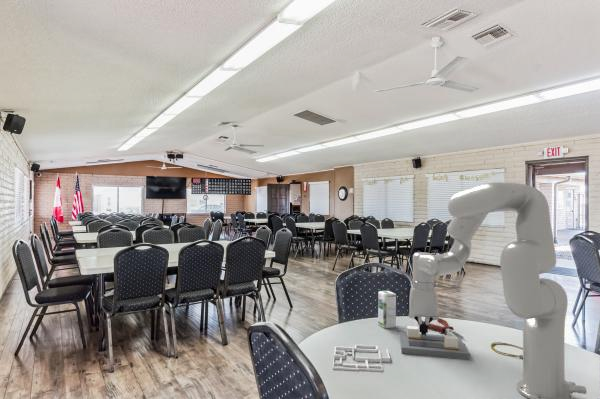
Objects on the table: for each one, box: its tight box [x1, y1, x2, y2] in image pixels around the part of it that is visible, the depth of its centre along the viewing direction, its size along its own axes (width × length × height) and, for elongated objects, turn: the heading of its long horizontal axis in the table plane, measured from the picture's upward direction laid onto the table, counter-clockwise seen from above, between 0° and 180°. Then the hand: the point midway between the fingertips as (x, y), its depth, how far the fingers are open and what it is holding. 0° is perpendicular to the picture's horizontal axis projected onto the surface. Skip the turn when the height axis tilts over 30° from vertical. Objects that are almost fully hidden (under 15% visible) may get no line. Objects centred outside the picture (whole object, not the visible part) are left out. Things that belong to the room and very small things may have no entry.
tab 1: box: [406, 325, 420, 337], centre depth 136 cm, size 4×3×3 cm
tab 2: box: [444, 334, 458, 348], centre depth 127 cm, size 4×3×3 cm
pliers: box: [417, 317, 465, 339], centre depth 149 cm, size 12×21×3 cm, turn 14°
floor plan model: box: [332, 344, 391, 373], centre depth 125 cm, size 19×25×2 cm
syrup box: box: [377, 290, 397, 329], centre depth 155 cm, size 6×6×14 cm
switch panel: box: [399, 331, 470, 360], centre depth 131 cm, size 22×16×2 cm
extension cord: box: [490, 341, 523, 360], centre depth 127 cm, size 12×16×2 cm
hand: (423, 334), depth 135 cm, fingers closed
